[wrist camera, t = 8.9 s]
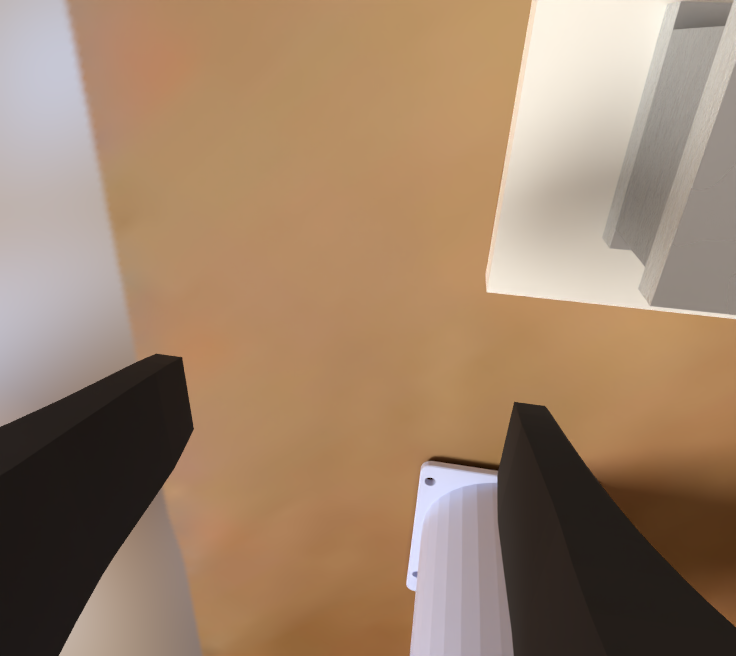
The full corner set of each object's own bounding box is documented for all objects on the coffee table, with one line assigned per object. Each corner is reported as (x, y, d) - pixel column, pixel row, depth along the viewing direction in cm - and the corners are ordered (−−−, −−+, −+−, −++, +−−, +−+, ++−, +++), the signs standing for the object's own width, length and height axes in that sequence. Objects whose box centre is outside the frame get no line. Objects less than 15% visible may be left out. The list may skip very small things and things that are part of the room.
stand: (801, 308, 18) (827, 328, 17) (485, 275, 19) (486, 291, 18) (1007, -89, 13) (1069, -103, 11) (548, -94, 14) (556, -109, 13)
